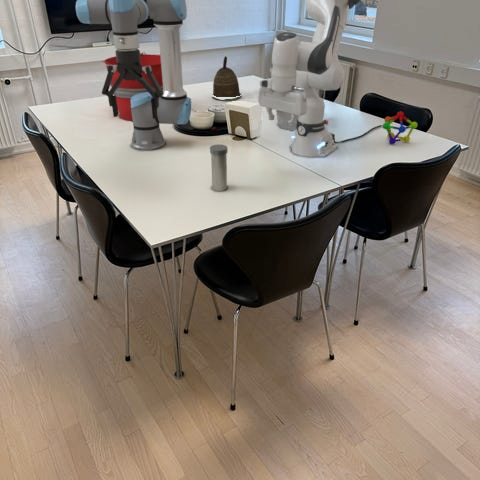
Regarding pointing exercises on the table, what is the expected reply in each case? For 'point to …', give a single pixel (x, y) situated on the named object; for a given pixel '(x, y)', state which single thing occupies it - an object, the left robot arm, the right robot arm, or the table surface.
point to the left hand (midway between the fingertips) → (135, 116)
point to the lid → (218, 150)
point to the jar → (219, 172)
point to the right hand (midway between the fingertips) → (281, 122)
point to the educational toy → (398, 128)
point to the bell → (225, 82)
